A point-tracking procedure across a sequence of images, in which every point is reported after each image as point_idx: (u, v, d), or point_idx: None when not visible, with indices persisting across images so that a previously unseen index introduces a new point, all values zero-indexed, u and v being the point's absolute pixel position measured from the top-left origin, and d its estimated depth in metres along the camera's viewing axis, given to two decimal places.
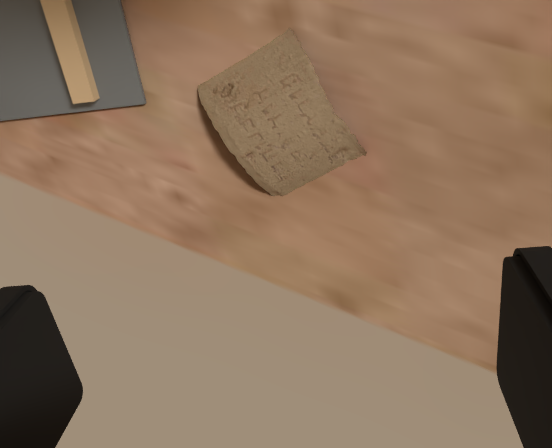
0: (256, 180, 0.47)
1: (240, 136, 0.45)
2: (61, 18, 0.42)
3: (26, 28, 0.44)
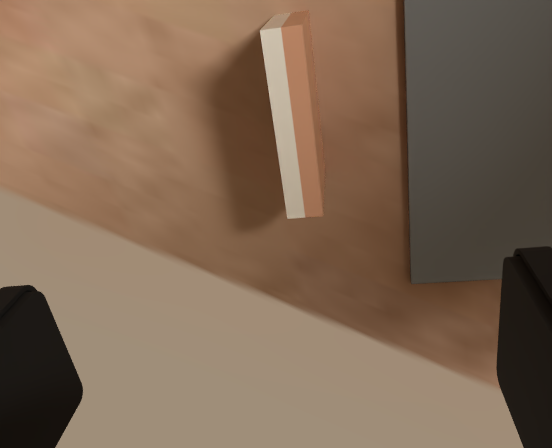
0: None
1: None
2: None
3: None
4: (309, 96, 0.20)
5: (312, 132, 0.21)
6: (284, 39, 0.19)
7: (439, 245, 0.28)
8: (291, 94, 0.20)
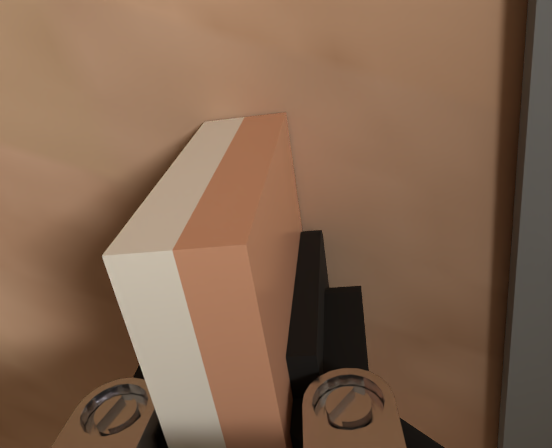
0: None
1: None
2: None
3: None
4: (280, 423, 0.07)
5: None
6: (188, 284, 0.06)
7: None
8: (224, 419, 0.07)
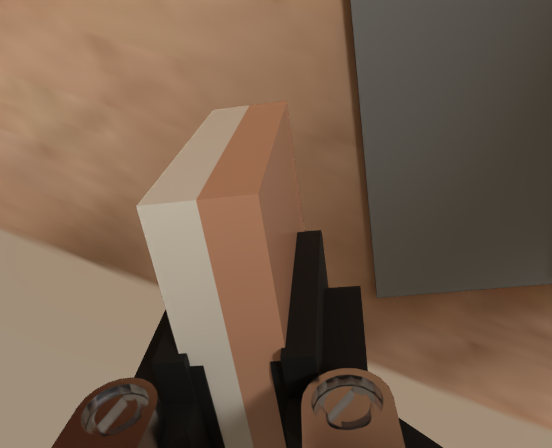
0: None
1: None
2: None
3: (524, 154, 0.24)
4: None
5: None
6: (208, 230, 0.07)
7: (402, 258, 0.27)
8: (237, 355, 0.08)
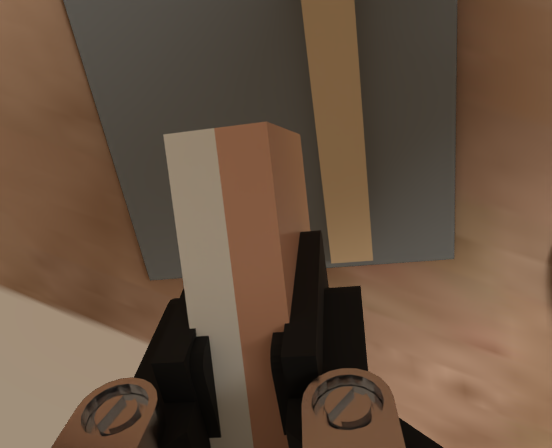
0: None
1: None
2: (346, 122, 0.22)
3: None
4: (285, 298, 0.08)
5: None
6: (222, 156, 0.08)
7: (165, 239, 0.27)
8: (239, 291, 0.08)
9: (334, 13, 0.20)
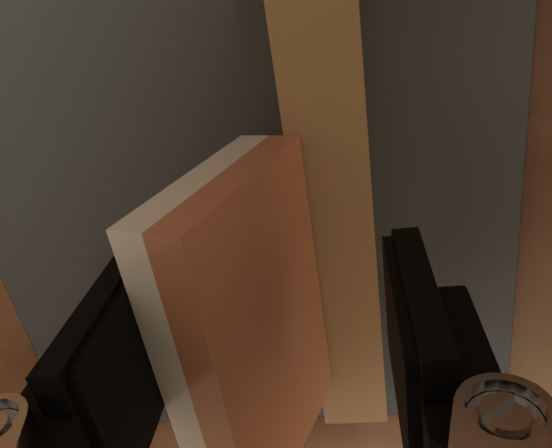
0: None
1: None
2: (348, 235, 0.14)
3: None
4: (214, 361, 0.10)
5: (225, 420, 0.10)
6: (151, 256, 0.09)
7: None
8: (179, 349, 0.10)
9: (327, 67, 0.12)
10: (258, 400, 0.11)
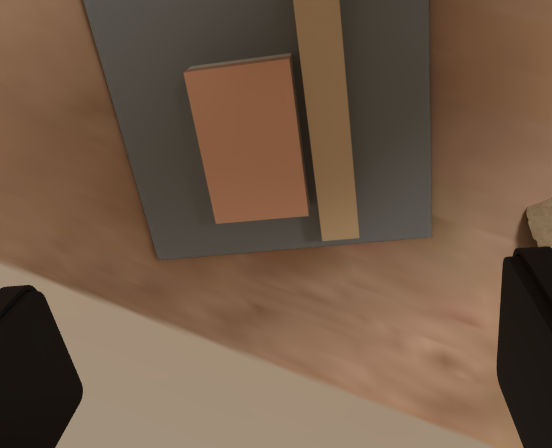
0: None
1: None
2: (334, 113, 0.25)
3: None
4: (196, 128, 0.25)
5: (201, 156, 0.26)
6: None
7: (172, 222, 0.30)
8: None
9: (322, 18, 0.23)
10: (225, 165, 0.26)
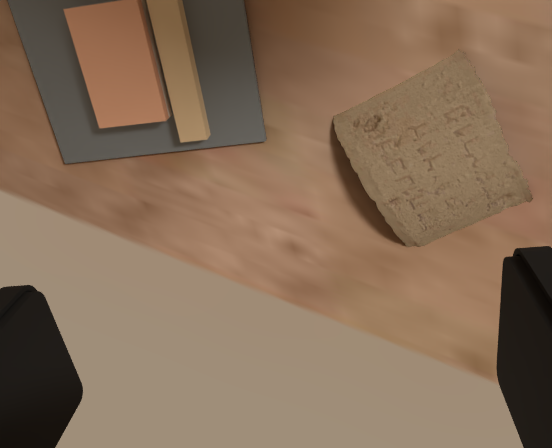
0: (395, 230, 0.39)
1: (385, 179, 0.37)
2: (175, 40, 0.34)
3: None
4: (77, 52, 0.35)
5: (83, 74, 0.35)
6: None
7: (72, 132, 0.39)
8: None
9: None
10: (101, 80, 0.35)
